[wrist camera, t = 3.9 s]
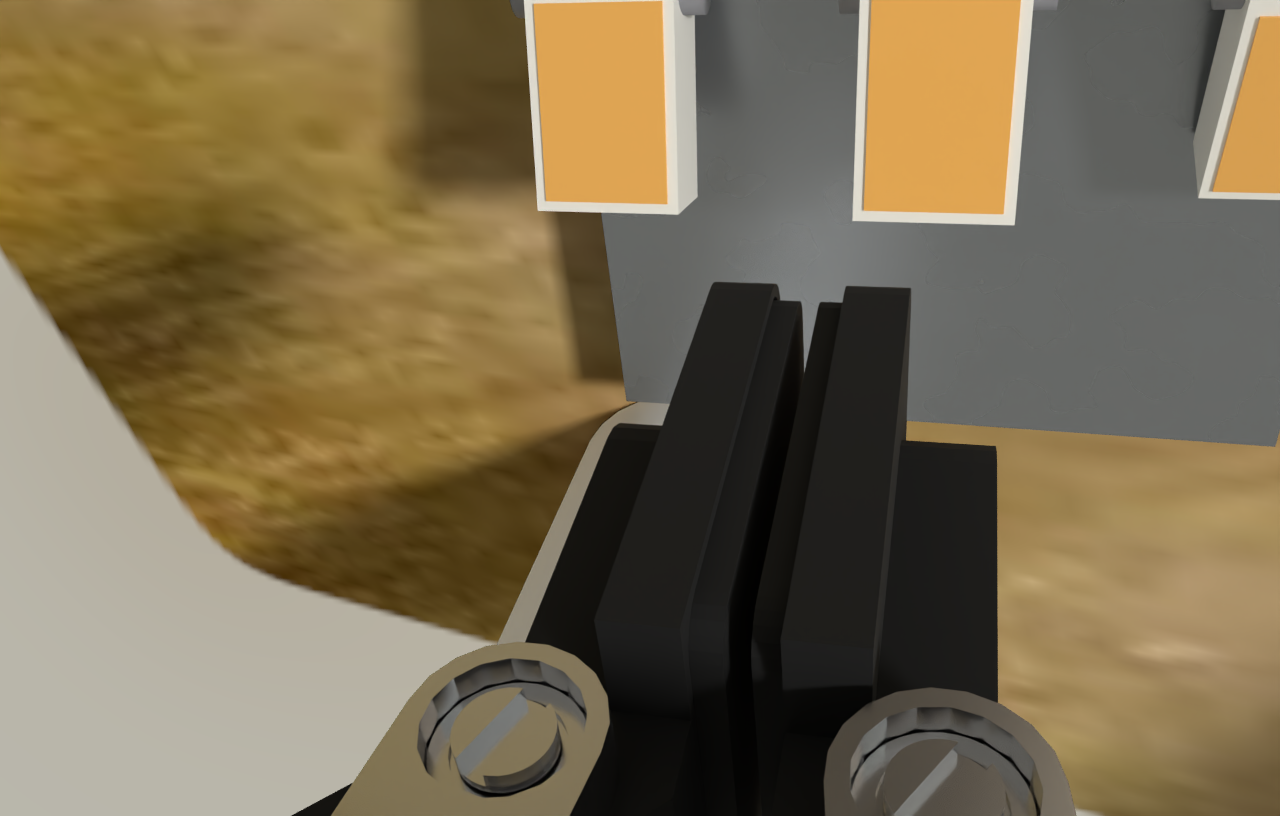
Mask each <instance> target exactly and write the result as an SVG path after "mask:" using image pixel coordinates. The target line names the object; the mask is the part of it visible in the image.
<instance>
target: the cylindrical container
mask: <svg viewBox="0 0 1280 816" xmlns="http://www.w3.org/2000/svg"><path fill="white" fill-rule="evenodd" d="M669 405H670V404H663V403H649V402H637V403H635V404H633V405H631V406H629V407H627V408H624V409H622V410H620V411H618V412H617V413H616V414H614V415H613V416H612V417H611V418H609V419H608V420H607V421H605V422H604V423H603V424H602V425H601V426H600V428H599V429H598V430H597V432H596V433H595V434H594V436H593V437H592V438H591V440H590V442H589V444H588V446H587V449H586V451H585V453H584V455H583V457H582V459H581V462H580V464H579V466H578V468H577V470H576V473H575V475H574V477H573V479H572V481H571V483H570V486H569V488H568V490H567V492H566V494H565V497H564V499H563V501H562V503H561V505H560V507H559V510H558V512H557V514H556V516H555V518H554V521H553V523H552V525H551V527H550V529H549V532H548V534H547V536H546V538H545V540H544V542H543V545H542V547H541V549H540V551H539V553H538V556H537V558H536V560H535V562H534V564H533V566H532V569H531V571H530V573H529V575H528V577H527V580H526V582H525V584H524V586H523V588H522V591H521V593H520V595H519V597H518V599H517V601H516V604H515V606H514V608H513V610H512V612H511V615H510V617H509V619H508V621H507V623H506V625H505V628H504V630H503V632H502V634H501V636H500V639H499V641H498V643H497V645H498V644H505V643H513V642H525V641H526V638H527V636H528V633H529V631H530V628H531V626H532V623H533V621H534V618H535V616H536V613H537V611H538V609H539V606H540V604H541V601H542V599H543V596H544V594H545V591H546V589H547V586H548V584H549V581H550V579H551V576H552V574H553V571H554V569H555V566H556V564H557V561H558V559H559V556H560V554H561V551H562V549H563V546H564V544H565V542H566V539H567V537H568V534H569V532H570V529H571V527H572V524H573V522H574V519H575V517H576V514H577V512H578V509H579V507H580V504H581V502H582V499H583V497H584V494H585V492H586V489H587V487H588V484H589V482H590V479H591V477H592V475H593V472H594V470H595V467H596V465H597V462H598V460H599V457H600V455H601V452H602V450H603V447H604V445H605V442H606V440H607V438H608V436H609V434H610V432H611V430H612V428H613V427H614V426H616V425H617V424H618V423H630V424H646V425H663V422H664V419H665V416H666V413H667V410H668V407H669Z"/></svg>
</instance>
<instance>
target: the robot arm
mask: <svg viewBox="0 0 1280 816" xmlns="http://www.w3.org/2000/svg"><path fill="white" fill-rule="evenodd" d="M910 320H911V288H903V287H871V286H846V287H845V292H844V296H843V302H820V303H819V306H818V311H817V316H816V320H815V325H814V330H813V334H812V339H811V344H810V349H809V353H808V358H807V363H806V368H805V372H804V342H803V311H802V304H801V301H785V300H780V293H779V287H778V285H777V284H774V283H742V282H714V283H713V284H712V286H711V288H710V290H709V293H708V296H707V299H706V302H705V305H704V307H703V310H702V313H701V316H700V319H699V322H698V325H697V327H696V330H695V333H694V336H693V339H692V342H691V345H690V347H689V350H688V353H687V356H686V359H685V362H684V365H683V367H682V370H681V373H680V376H679V379H678V382H677V385H676V387H675V390H674V393H673V396H672V399H671V402H670V405H669V407H668V410H667V413H666V416H665V419H664V422H663V425H646V424H630V423H618V424H617V425H616V426H614V427H613V428H612V430H611V432H610V434H609V436H608V438H607V440H606V442H605V445H604V447H603V450H602V452H601V455H600V457H599V460H598V462H597V465H596V467H595V470H594V472H593V475H592V477H591V479H590V482H589V484H588V487H587V489H586V492H585V494H584V497H583V499H582V502H581V504H580V507H579V509H578V512H577V514H576V517H575V519H574V522H573V524H572V527H571V529H570V532H569V534H568V537H567V539H566V542H565V544H564V546H563V549H562V551H561V554H560V556H559V559H558V561H557V564H556V566H555V569H554V571H553V574H552V576H551V579H550V581H549V584H548V586H547V589H546V591H545V594H544V596H543V599H542V601H541V604H540V606H539V609H538V611H537V613H536V616H535V618H534V621H533V623H532V626H531V628H530V631H529V633H528V636H527V638H526V641H525V642H513V643H505V644H498V645H491V646H486V647H483V648H481V649H478V650H475V651H473V652H470V653H467V654H465V655H462V656H460V657H457V658H455V659H454V660H452V661H451V662H449V663H448V664H447V665H445V666H443V667H442V668H440V669H439V670H438V671H436V672H435V673H433V674H432V675H430V676H429V677H428V678H427V679H426V681H425V682H424V683H423V684H422V685H421V686H420V687H419V689H418V690H417V691H416V692H415V693H414V694H413V695H412V697H410V699H409V700H408V702H407V703H406V704H405V706H404V707H403V709H402V710H401V712H400V713H399V715H398V716H397V718H396V719H395V721H394V722H393V724H392V725H391V727H390V728H389V730H388V731H387V733H386V734H385V736H384V737H383V739H382V740H381V742H380V743H379V745H378V746H377V748H376V749H375V751H374V752H373V754H372V755H371V757H370V758H369V760H368V761H367V763H366V764H365V766H364V767H363V769H362V770H361V772H360V773H359V775H358V776H357V778H356V779H355V781H354V782H353V783H351V784H350V785H348V786H346V787H344V788H342V789H340V790H338V791H337V792H335V793H333V794H331V795H329V796H327V797H325V798H323V799H322V800H320V801H318V802H316V803H314V804H312V805H311V806H309V807H307V808H305V809H303V810H301V811H299V812H297V813H296V814H294V815H292V816H1076V812H1075V808H1074V804H1073V800H1072V795H1071V791H1070V787H1069V783H1068V780H1067V778H1066V776H1065V774H1064V771H1063V769H1062V767H1061V764H1060V762H1059V760H1058V757H1057V755H1056V753H1055V751H1054V750H1053V749H1052V747H1051V746H1050V745H1049V744H1048V743H1047V742H1046V741H1045V739H1044V738H1043V737H1042V736H1041V735H1040V734H1039V732H1038V731H1037V730H1036V729H1035V728H1034V727H1033V726H1032V725H1031V724H1030V723H1028V722H1027V721H1026V720H1024V719H1023V718H1021V717H1020V716H1018V715H1017V714H1015V713H1014V712H1012V711H1011V710H1009V709H1008V708H1006V707H1005V706H1003V705H1002V704H999V703H998V629H997V451H996V446H985V445H968V444H952V443H936V442H920V441H906V424H907V398H908V372H909V346H910Z"/></svg>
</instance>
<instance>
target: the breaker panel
mask: <svg viewBox="0 0 1280 816" xmlns="http://www.w3.org/2000/svg"><path fill="white" fill-rule="evenodd" d="M1224 14H1225V10H1213V9H1212V7H1211V0H1058V6H1057V10H1056V11H1033V15H1032V27H1031V39H1030V50H1029V62H1028V74H1027V86H1026V98H1025V109H1024V121H1023V133H1022V145H1021V156H1020V168H1019V180H1018V192H1017V204H1016V215H1015V225H982V224H946V223H910V222H874V221H852V220H853V190H854V159H855V129H856V99H857V69H858V39H859V14H840V12H839V2H838V0H711V3H710V8H709V12H708V14H707V15H695V69H696V132H697V194H698V197H697V198H696V199H695V200H694V201H693V202H691V203H690V204H689V205H688V206H687V207H686V208H685V209H684V210H683V211H682V212H681V213H680V214H679V215H674V214H637V213H601V215H602V222H603V230H604V237H605V245H606V252H607V259H608V267H609V274H610V282H611V289H612V296H613V304H614V311H615V319H616V326H617V333H618V341H619V348H620V356H621V363H622V370H623V378H624V385H625V393H626V400H627V401H634V402H649V403H663V404H670V402H671V399H672V396H673V393H674V390H675V387H676V385H677V382H678V379H679V376H680V373H681V370H682V367H683V365H684V362H685V359H686V356H687V353H688V350H689V347H690V345H691V342H692V339H693V336H694V333H695V330H696V327H697V325H698V322H699V319H700V316H701V313H702V310H703V307H704V305H705V302H706V299H707V296H708V293H709V290H710V288H711V286H712V284H713V283H714V282H742V283H774V284H777V285H778V287H779V293H780V300H785V301H801V304H802V311H803V342H804V372H805V368H806V363H807V358H808V353H809V349H810V344H811V339H812V334H813V330H814V325H815V320H816V316H817V311H818V306H819V303H820V302H843V296H844V292H845V287H846V286H871V287H903V288H911V320H910V346H909V372H908V398H907V421H919V422H933V423H947V424H961V425H975V426H990V427H1004V428H1018V429H1032V430H1046V431H1061V432H1075V433H1089V434H1103V435H1117V436H1132V437H1146V438H1160V439H1174V440H1188V441H1203V442H1217V443H1231V444H1245V445H1260V446H1274V447H1275V445H1276V442H1277V438H1278V434H1279V431H1280V200H1258V199H1210V198H1198V190H1197V179H1196V168H1195V157H1194V146H1193V140H1194V135H1195V131H1196V127H1197V123H1198V119H1199V115H1200V111H1201V107H1202V103H1203V99H1204V95H1205V91H1206V87H1207V83H1208V79H1209V75H1210V71H1211V66H1212V62H1213V58H1214V54H1215V50H1216V46H1217V42H1218V38H1219V34H1220V30H1221V26H1222V22H1223V18H1224Z"/></svg>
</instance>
